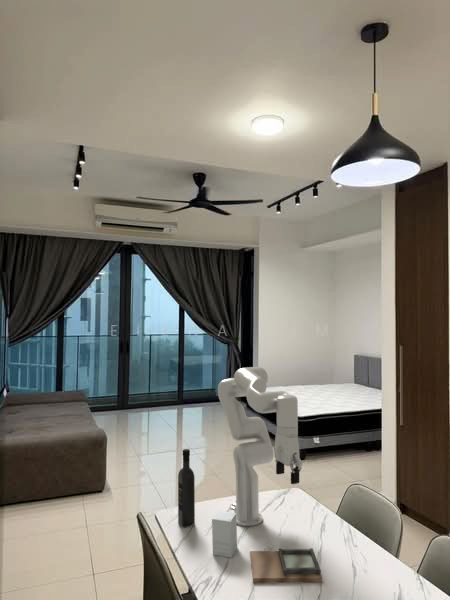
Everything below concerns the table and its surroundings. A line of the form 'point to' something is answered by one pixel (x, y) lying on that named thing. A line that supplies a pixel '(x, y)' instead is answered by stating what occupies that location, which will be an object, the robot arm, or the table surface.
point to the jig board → (285, 566)
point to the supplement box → (224, 533)
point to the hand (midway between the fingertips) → (287, 478)
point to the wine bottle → (186, 492)
